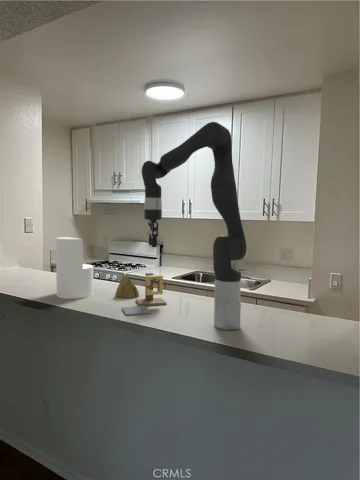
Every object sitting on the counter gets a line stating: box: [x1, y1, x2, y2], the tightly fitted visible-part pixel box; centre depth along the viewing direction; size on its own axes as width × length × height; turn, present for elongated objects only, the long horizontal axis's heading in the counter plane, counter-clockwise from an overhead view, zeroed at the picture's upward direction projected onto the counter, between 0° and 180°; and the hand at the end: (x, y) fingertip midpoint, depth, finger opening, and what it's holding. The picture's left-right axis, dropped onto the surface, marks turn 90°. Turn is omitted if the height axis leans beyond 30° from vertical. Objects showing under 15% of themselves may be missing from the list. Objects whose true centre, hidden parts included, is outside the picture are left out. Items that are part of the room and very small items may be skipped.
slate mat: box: [121, 305, 152, 317], centre depth 136 cm, size 10×10×1 cm
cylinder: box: [55, 236, 94, 300], centre depth 162 cm, size 17×17×28 cm
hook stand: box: [135, 272, 167, 307], centre depth 146 cm, size 14×12×13 cm
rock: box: [114, 275, 140, 298], centre depth 160 cm, size 11×9×10 cm
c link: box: [144, 274, 164, 296], centre depth 143 cm, size 3×7×8 cm, turn 109°
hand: (152, 246), depth 143 cm, fingers open, 8 cm apart
